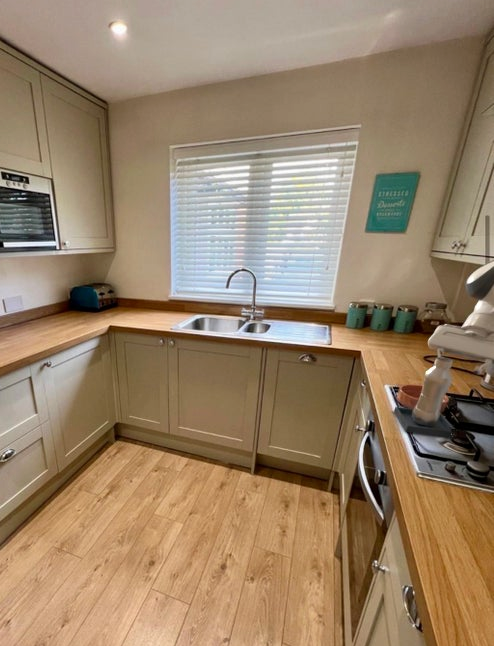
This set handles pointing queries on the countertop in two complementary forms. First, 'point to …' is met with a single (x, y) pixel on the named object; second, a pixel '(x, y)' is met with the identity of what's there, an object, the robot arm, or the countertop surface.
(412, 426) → the tray
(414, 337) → the countertop surface
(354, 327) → the countertop surface
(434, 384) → the plastic bottle
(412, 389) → the bowl
